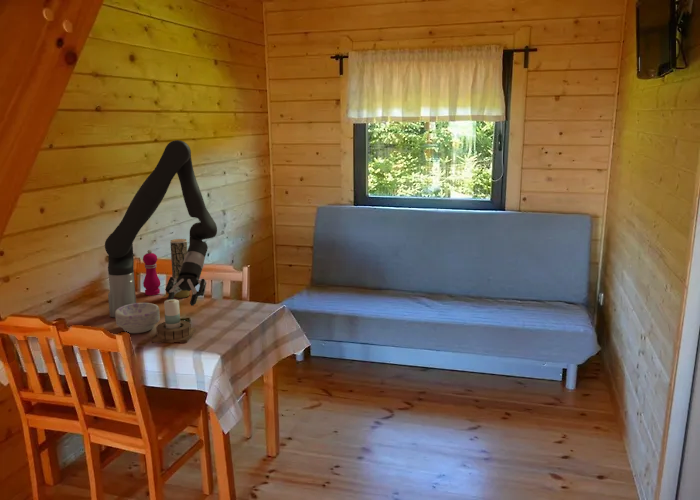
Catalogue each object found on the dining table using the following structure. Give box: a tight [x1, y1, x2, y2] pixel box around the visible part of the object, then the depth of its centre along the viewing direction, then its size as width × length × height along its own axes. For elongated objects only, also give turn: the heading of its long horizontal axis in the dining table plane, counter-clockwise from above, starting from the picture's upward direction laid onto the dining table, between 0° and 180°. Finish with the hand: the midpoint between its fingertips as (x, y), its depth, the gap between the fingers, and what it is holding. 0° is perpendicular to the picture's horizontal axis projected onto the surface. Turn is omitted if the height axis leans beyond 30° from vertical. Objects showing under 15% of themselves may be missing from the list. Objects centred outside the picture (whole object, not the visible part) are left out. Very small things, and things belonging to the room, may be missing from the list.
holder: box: [151, 319, 196, 344], centre depth 206 cm, size 12×12×4 cm
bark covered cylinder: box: [169, 238, 191, 299], centre depth 251 cm, size 7×7×25 cm
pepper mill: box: [142, 249, 161, 296], centre depth 255 cm, size 7×7×20 cm
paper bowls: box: [115, 302, 161, 334], centre depth 213 cm, size 15×15×8 cm
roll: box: [163, 298, 181, 329], centre depth 205 cm, size 5×5×12 cm
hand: (180, 304), depth 211 cm, fingers open, 8 cm apart
